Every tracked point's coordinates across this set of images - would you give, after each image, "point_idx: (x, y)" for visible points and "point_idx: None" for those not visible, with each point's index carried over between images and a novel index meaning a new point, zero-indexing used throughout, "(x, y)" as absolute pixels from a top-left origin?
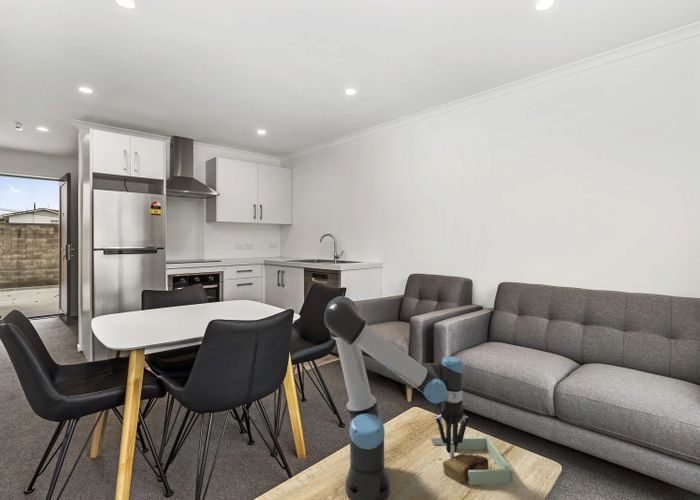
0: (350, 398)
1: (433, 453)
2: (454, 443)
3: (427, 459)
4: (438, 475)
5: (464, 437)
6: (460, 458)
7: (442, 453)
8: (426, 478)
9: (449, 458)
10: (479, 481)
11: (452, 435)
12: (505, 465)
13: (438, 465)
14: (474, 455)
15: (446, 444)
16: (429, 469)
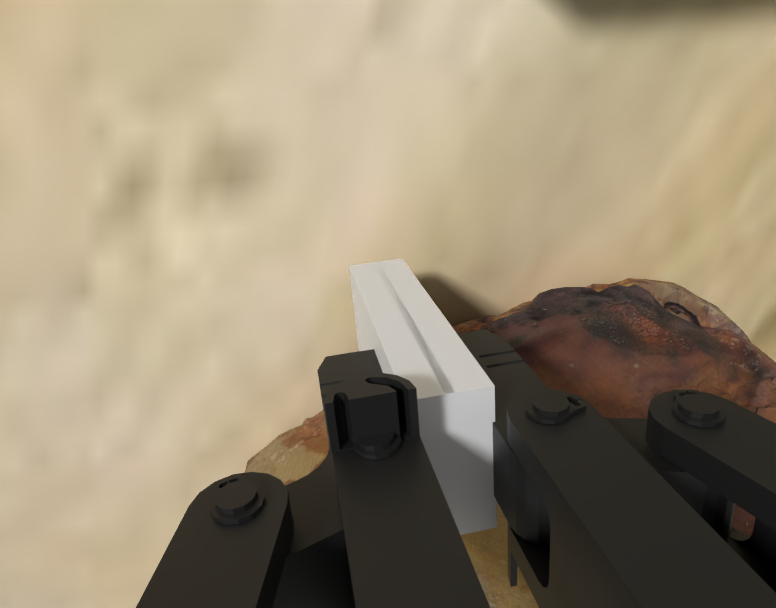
0: None
1: (121, 15)
2: (513, 554)
3: (16, 205)
4: (174, 515)
5: None
6: None
7: (283, 11)
8: (25, 584)
9: (355, 314)
10: None
11: (570, 512)
12: None
13: (188, 334)
14: (732, 378)
15: (329, 439)
16: (58, 429)
